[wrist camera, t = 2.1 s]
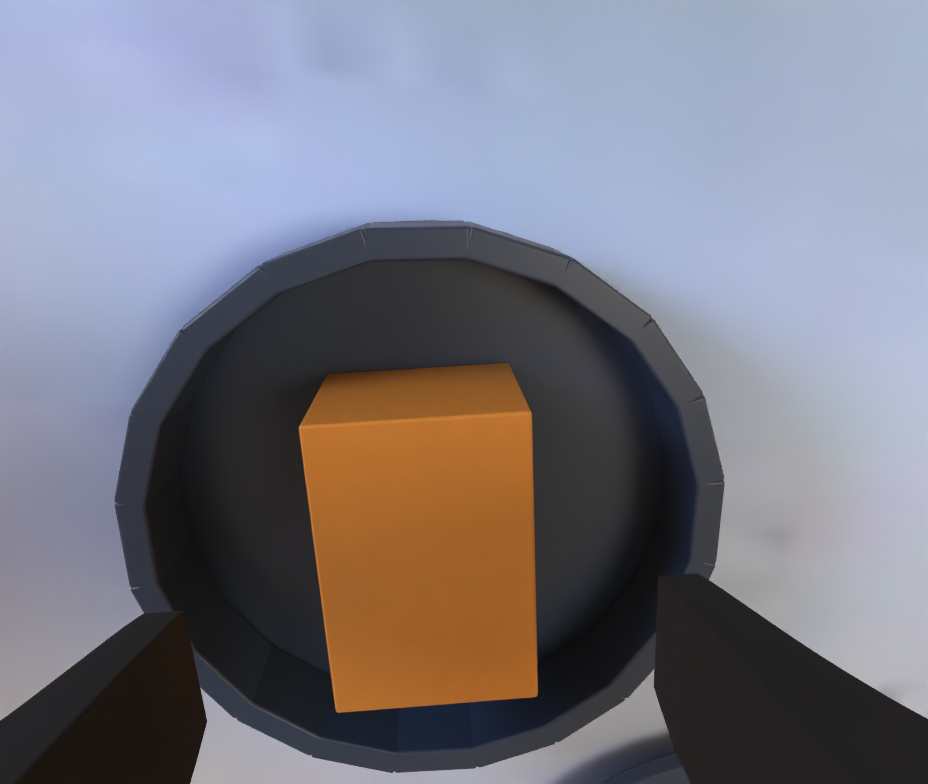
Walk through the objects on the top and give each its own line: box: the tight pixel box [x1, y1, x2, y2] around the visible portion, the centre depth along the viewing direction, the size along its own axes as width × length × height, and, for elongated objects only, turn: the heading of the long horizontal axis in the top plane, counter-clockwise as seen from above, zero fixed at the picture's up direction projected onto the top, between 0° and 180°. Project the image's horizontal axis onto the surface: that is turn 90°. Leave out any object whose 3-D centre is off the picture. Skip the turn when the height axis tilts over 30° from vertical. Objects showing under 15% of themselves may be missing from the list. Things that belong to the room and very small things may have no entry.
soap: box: [299, 363, 538, 713], centre depth 14 cm, size 6×4×3 cm, turn 3°
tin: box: [115, 220, 724, 773], centre depth 15 cm, size 12×12×2 cm
